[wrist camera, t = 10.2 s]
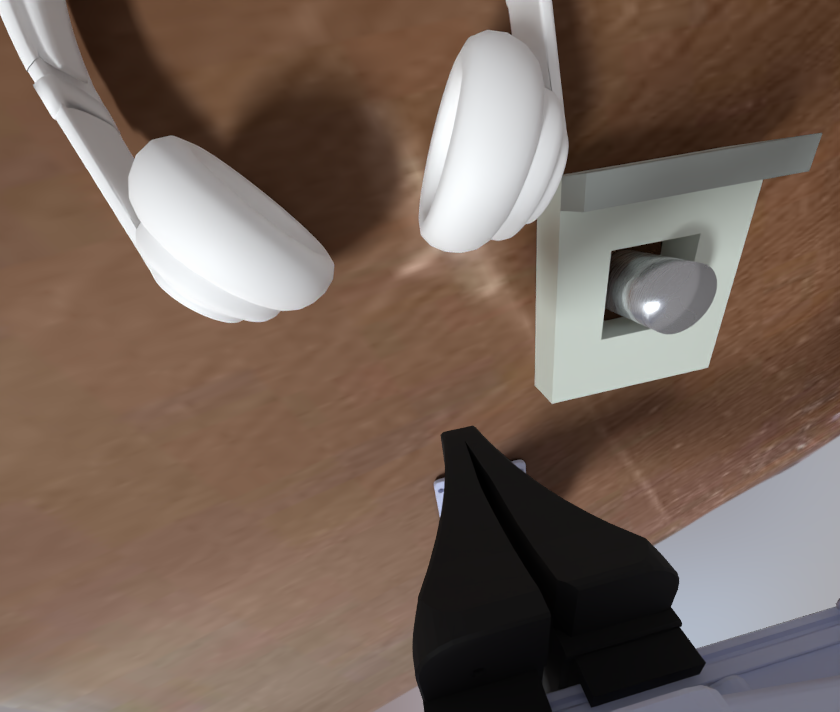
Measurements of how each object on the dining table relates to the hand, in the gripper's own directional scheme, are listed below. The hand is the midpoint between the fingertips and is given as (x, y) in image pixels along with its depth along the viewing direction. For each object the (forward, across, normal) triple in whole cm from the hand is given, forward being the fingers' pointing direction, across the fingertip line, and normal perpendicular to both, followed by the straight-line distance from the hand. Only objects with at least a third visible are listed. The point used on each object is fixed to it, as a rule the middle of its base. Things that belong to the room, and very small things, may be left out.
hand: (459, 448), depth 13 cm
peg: (+10, -14, -2) cm, 17 cm away
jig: (+10, -14, -2) cm, 17 cm away
